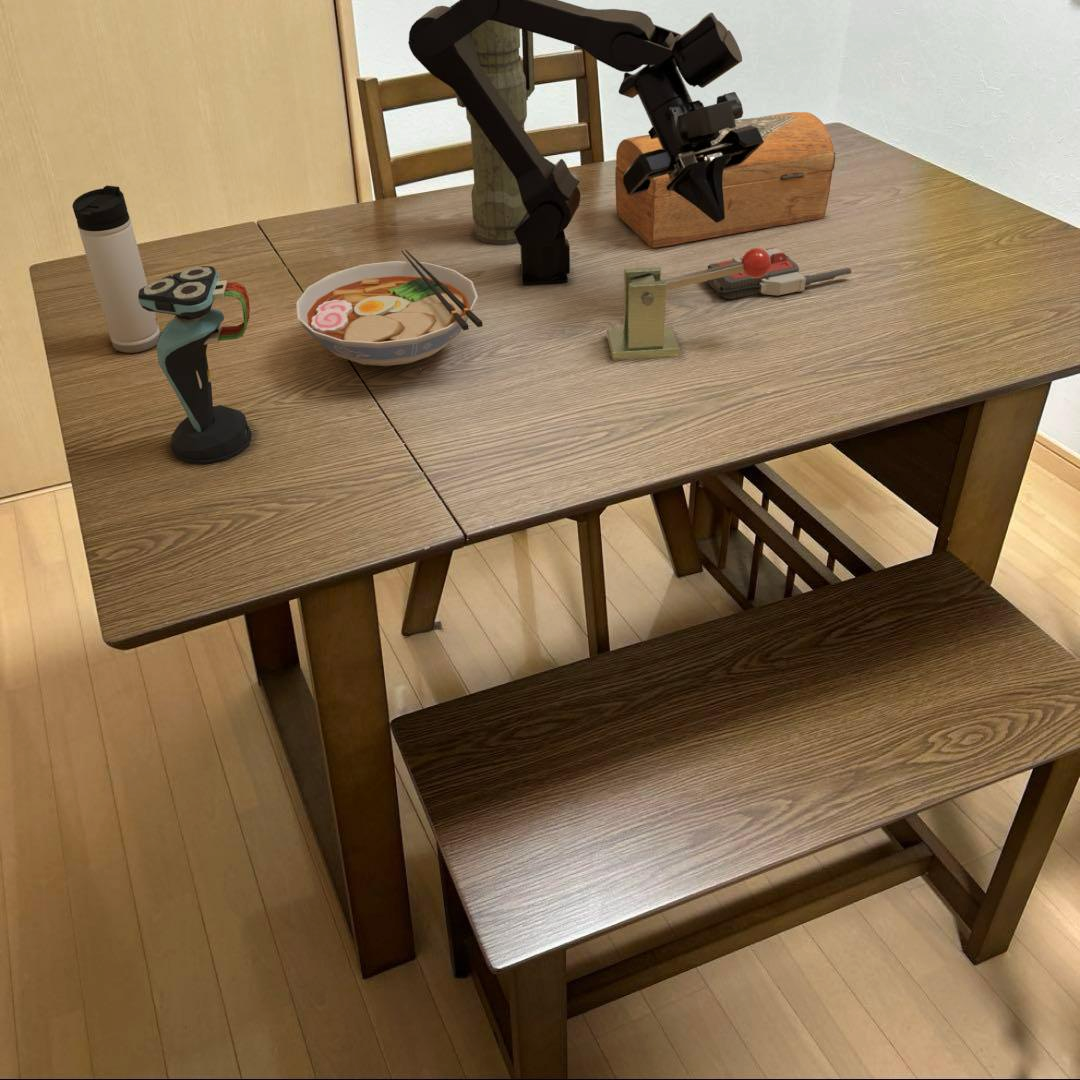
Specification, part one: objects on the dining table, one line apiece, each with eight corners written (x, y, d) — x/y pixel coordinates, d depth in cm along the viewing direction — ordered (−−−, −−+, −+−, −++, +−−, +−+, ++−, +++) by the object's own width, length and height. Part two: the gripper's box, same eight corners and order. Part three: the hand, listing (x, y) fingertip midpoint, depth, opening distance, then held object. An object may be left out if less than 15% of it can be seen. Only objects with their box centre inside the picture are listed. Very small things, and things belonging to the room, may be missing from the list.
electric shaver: (178, 423, 133) (136, 265, 121) (278, 416, 134) (247, 258, 121) (164, 467, 126) (118, 303, 114) (270, 459, 127) (236, 296, 114)
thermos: (551, 232, 174) (545, -15, 152) (486, 252, 169) (470, -1, 147) (519, 214, 180) (509, -26, 158) (455, 233, 175) (436, -13, 153)
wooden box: (778, 183, 187) (787, 97, 179) (829, 219, 175) (841, 129, 166) (610, 211, 180) (610, 123, 171) (651, 250, 168) (654, 158, 159)
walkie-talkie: (726, 309, 152) (853, 283, 157) (728, 279, 149) (858, 253, 155) (696, 283, 159) (820, 259, 164) (698, 254, 156) (823, 229, 161)
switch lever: (768, 266, 141) (765, 240, 139) (775, 279, 138) (772, 252, 136) (633, 299, 142) (629, 273, 140) (637, 312, 139) (633, 285, 137)
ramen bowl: (283, 329, 151) (273, 272, 146) (444, 295, 158) (439, 239, 153) (332, 418, 133) (322, 357, 128) (511, 375, 140) (508, 315, 135)
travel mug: (172, 333, 151) (135, 187, 139) (143, 356, 146) (102, 207, 134) (133, 327, 153) (92, 182, 141) (103, 350, 148) (58, 202, 136)
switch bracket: (671, 334, 147) (675, 264, 141) (679, 356, 142) (683, 285, 136) (606, 338, 147) (607, 268, 141) (612, 360, 142) (613, 289, 136)
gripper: (638, 86, 131) (693, 208, 130) (760, 58, 139) (813, 172, 138) (599, 137, 141) (650, 249, 141) (715, 107, 149) (764, 214, 148)
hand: (720, 220), depth 142 cm, fingers closed
